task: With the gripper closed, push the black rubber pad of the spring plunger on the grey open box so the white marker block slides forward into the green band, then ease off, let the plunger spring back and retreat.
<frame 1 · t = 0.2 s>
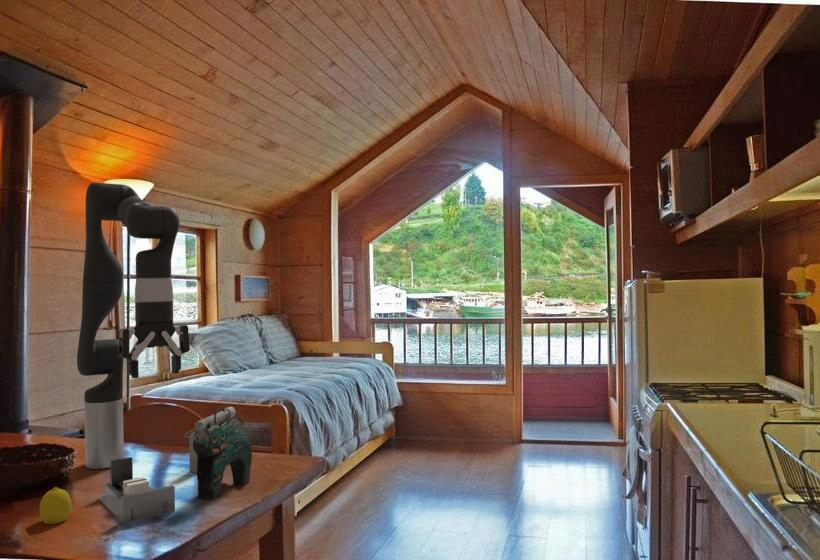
hand: (155, 375, 136), 28 cm above the table, tool pointing down, fingers open, 8 cm apart
lemon: (56, 528, 126), on the table
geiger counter: (217, 464, 168), on the table
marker: (136, 505, 134), point 1 cm above the table, touching grey open box
grey open box: (135, 510, 134), on the table
ceramic cat: (223, 494, 145), on the table
plunger: (126, 479, 139), point 5 cm above the table, slide at 0.0 cm
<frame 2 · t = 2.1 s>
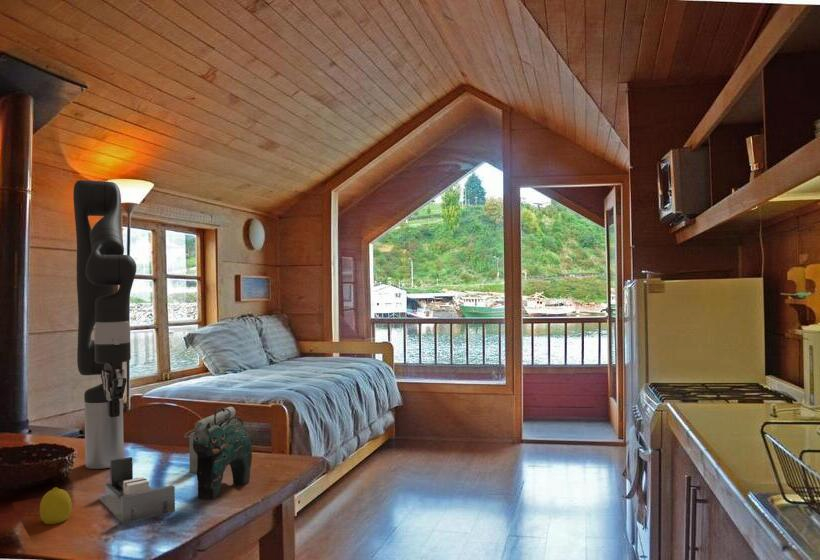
hand: (114, 416, 146), 18 cm above the table, tool pointing down, fingers closed
nothing on the table moved.
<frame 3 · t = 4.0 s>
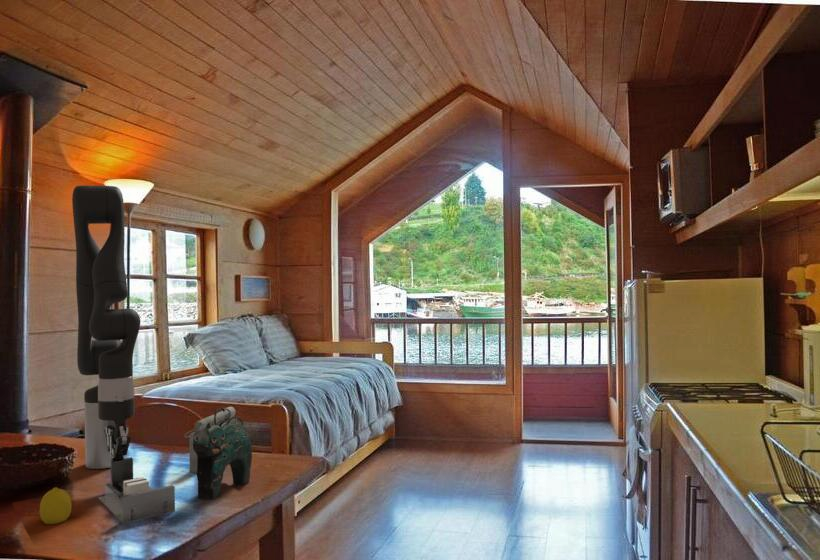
hand: (117, 473, 144), 5 cm above the table, tool pointing down, fingers closed
plunger: (127, 479, 139), point 5 cm above the table, slide at 0.4 cm, touching gripper
everything else where it was.
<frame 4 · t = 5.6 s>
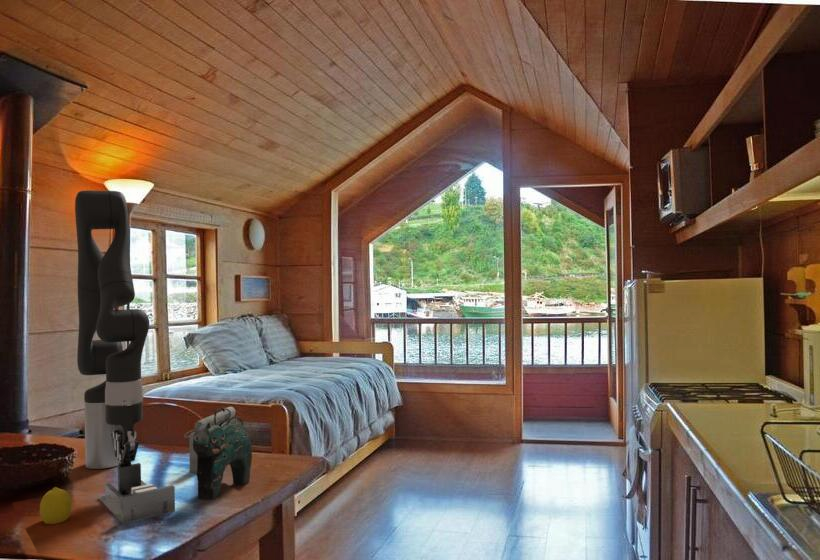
hand: (125, 478, 140), 5 cm above the table, tool pointing down, fingers closed
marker: (144, 512, 129), point 1 cm above the table, touching grey open box, plunger
plunger: (134, 486, 134), point 5 cm above the table, slide at 6.3 cm, touching gripper, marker
everything else where it was.
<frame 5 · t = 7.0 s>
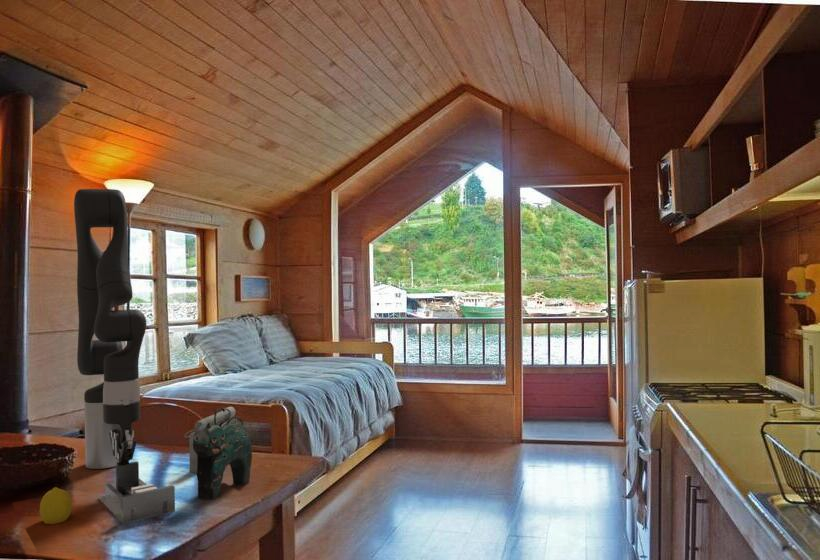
hand: (123, 477, 141), 5 cm above the table, tool pointing down, fingers closed
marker: (144, 512, 129), point 1 cm above the table, touching grey open box
plunger: (132, 484, 136), point 5 cm above the table, slide at 4.7 cm, touching gripper
everything else where it was.
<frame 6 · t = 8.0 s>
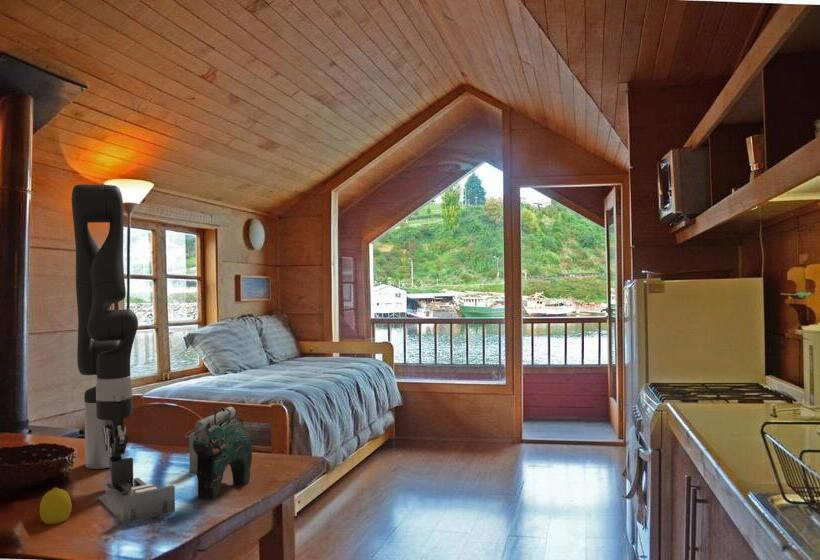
hand: (115, 471, 147), 5 cm above the table, tool pointing down, fingers closed
plunger: (127, 479, 139), point 5 cm above the table, slide at 0.4 cm
everything else where it was.
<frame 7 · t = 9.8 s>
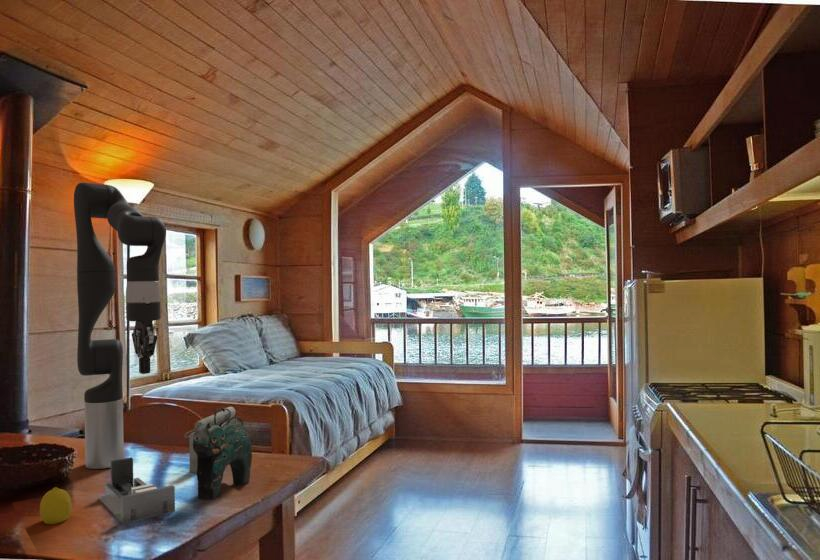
hand: (144, 373, 151), 27 cm above the table, tool pointing down, fingers closed
nothing on the table moved.
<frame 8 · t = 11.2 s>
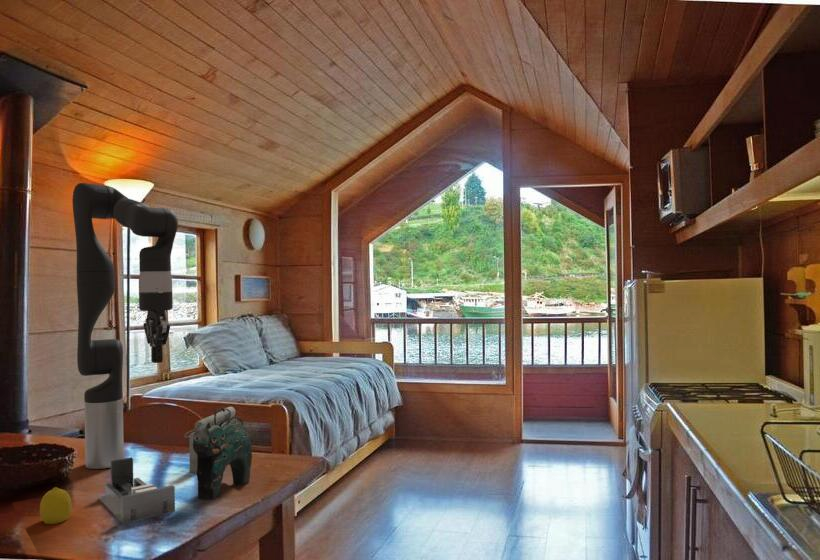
hand: (157, 362, 153), 29 cm above the table, tool pointing down, fingers closed
nothing on the table moved.
at the end: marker 0.4 cm from the target spot on the grey open box, point 1.5 cm above the grey open box's base; plunger slide at 0.4 cm; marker tilted 0° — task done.
